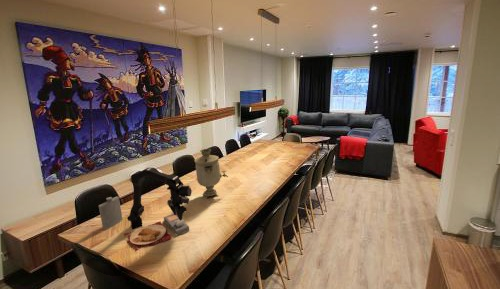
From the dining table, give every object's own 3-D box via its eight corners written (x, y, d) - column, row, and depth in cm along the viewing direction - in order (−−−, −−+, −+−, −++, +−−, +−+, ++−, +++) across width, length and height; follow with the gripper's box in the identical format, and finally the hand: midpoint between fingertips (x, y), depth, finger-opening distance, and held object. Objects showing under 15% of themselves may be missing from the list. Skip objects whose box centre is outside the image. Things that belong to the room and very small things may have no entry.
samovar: (227, 202, 211) (223, 154, 202) (194, 203, 212) (189, 155, 203) (230, 187, 240) (227, 145, 231) (201, 188, 241) (197, 146, 232)
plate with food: (160, 223, 185) (159, 219, 184) (172, 239, 164) (171, 234, 163) (124, 236, 172) (123, 231, 172) (131, 254, 152) (130, 249, 151)
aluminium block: (177, 231, 172) (176, 223, 171) (175, 229, 176) (174, 220, 174) (184, 229, 175) (183, 221, 173) (181, 226, 178) (180, 218, 177)
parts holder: (176, 235, 168) (176, 230, 167) (164, 220, 187) (163, 216, 186) (189, 230, 173) (188, 226, 172) (175, 216, 192) (175, 212, 191)
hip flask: (120, 218, 194) (115, 192, 189) (124, 218, 193) (120, 193, 188) (102, 229, 179) (96, 202, 175) (106, 230, 178) (101, 203, 174)
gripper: (193, 196, 167) (195, 218, 170) (181, 187, 181) (184, 208, 185) (176, 201, 160) (178, 224, 164) (165, 192, 175) (168, 213, 179)
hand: (178, 217), depth 173 cm, fingers open, 9 cm apart
